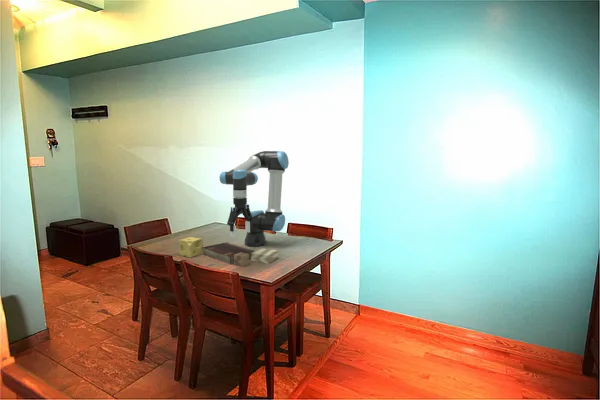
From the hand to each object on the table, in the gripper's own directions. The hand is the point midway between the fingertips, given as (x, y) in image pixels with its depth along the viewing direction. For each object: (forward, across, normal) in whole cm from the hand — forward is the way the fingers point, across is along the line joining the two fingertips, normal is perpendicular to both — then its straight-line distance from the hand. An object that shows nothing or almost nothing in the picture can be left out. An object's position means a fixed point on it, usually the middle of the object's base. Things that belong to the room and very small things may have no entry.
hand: (240, 234), depth 200 cm
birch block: (+18, +14, -7) cm, 24 cm away
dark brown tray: (+18, +10, +16) cm, 26 cm away
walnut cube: (+18, 0, -1) cm, 18 cm away
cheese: (+18, 0, +39) cm, 43 cm away
